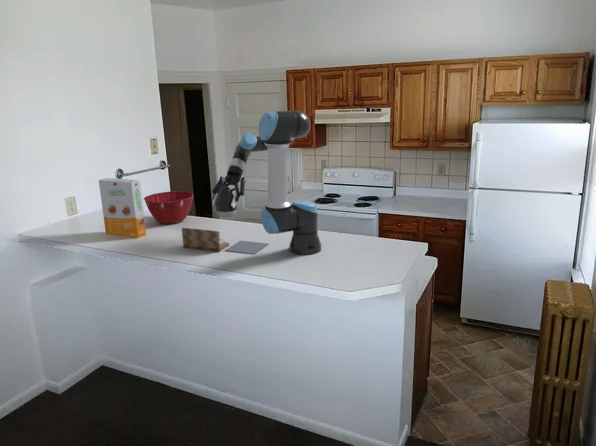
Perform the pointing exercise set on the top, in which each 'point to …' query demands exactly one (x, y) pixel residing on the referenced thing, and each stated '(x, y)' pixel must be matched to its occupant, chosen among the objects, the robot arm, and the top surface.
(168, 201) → the mixing bowl
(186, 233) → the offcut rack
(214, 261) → the top surface
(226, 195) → the black and white ovoid
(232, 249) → the slate mat
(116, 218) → the cereal box
